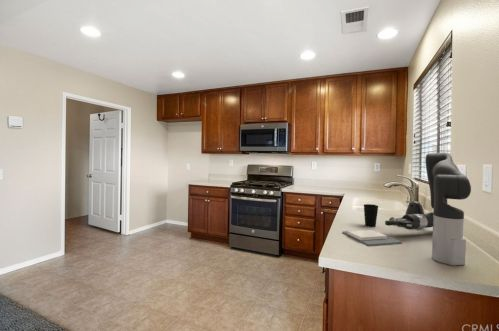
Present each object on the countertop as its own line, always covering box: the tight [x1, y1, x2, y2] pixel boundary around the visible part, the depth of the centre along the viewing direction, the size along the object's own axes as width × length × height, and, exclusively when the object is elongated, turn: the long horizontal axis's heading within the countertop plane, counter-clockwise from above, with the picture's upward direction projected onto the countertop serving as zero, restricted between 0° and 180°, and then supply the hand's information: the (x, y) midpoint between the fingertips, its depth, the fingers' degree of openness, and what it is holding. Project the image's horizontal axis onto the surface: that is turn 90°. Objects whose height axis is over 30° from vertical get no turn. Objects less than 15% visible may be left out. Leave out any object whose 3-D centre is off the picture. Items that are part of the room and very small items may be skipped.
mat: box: [341, 229, 403, 247], centre depth 124 cm, size 20×18×1 cm
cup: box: [363, 203, 379, 228], centre depth 147 cm, size 8×8×12 cm
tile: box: [347, 229, 388, 240], centre depth 124 cm, size 10×2×14 cm
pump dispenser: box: [404, 200, 425, 215], centre depth 146 cm, size 10×10×15 cm
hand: (386, 223), depth 126 cm, fingers closed
